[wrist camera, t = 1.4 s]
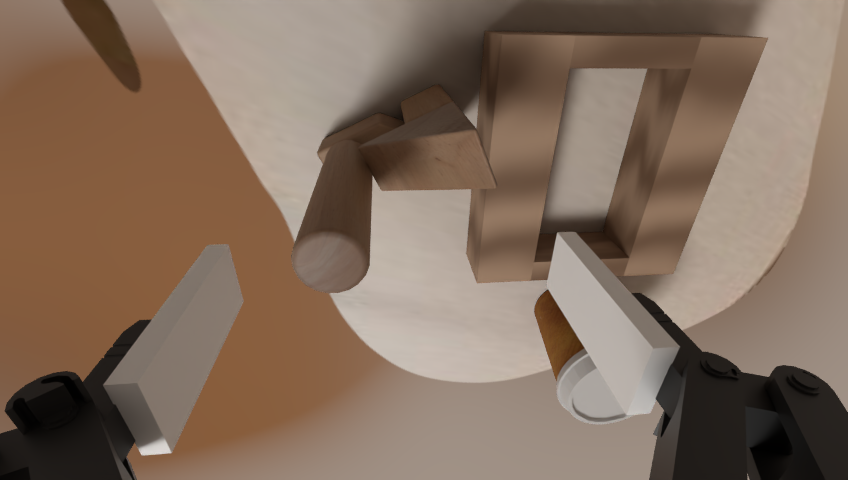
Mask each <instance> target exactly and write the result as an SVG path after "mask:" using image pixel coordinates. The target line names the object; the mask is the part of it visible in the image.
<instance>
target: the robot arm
mask: <svg viewBox="0 0 848 480" xmlns="http://www.w3.org/2000/svg"><path fill="white" fill-rule="evenodd" d="M546 287H547V288H548V290H549V291H550V293H551V295H552V296H553V298H554V300H555V301H556V303H557V304H558V306H559V308H560V309H561V311H562V312H563V314H564V316H565V317H566V319H567V320H568V322H569V324H570V325H571V327H572V328H573V330H574V332H575V333H576V335H577V337H578V338H579V340H580V341H581V343H582V345H583V346H584V348H585V349H586V351H587V353H588V354H589V356H590V357H591V359H592V361H593V362H594V364H595V366H596V367H597V369H598V370H599V372H600V374H601V375H602V377H603V378H604V380H605V382H606V383H607V385H608V386H609V388H610V390H611V391H612V393H613V394H614V396H615V398H616V399H617V401H618V403H619V404H620V406H621V407H622V409H623V411H624V412H625V414H626V415H635V414H647V413H650V412H651V410H652V408H653V406H654V403H655V401H656V400H657V401H658V402H659V404H660V405H661V407H662V408H663V409H664V412H663V414H662V416H661V418H660V421H659V423H658V425H657V427H656V429H655V431H654V433H653V434H654V435H656V436H657V440H656V446H655V451H654V457H653V462H652V467H651V473H650V478H649V480H747V473H748V476H749V479H750V480H848V412H847V411H846V409H845V407H844V406H843V404H842V403H841V401H840V400H839V398H838V396H837V395H836V393H835V392H834V391H833V389H831V387H830V386H829V385H828V384H827V383H826V382H824V381H823V380H822V379H820V378H819V377H817V376H816V375H814V374H812V373H810V372H808V371H806V370H803V369H800V368H797V367H794V366H786V365H782V366H777V367H776V368H775V369H774V370H773V371H772V373H771V375H770V376H769V377H765V376H760V375H754V374H749V373H743V372H741V371H740V370H739V369H738V367H737V366H736V365H734V364H733V363H731V362H730V361H728V360H727V359H725V358H723V357H721V356H719V355H716V354H713V353H709V352H702V351H701V350H700V349H699V348H698V347H697V346H696V345H695V343H693V341H692V340H690V338H689V337H688V336H687V335H686V334H685V333H684V332H683V331H682V330H681V329H680V328H679V327H678V326H677V325H676V324H675V323H673V322H672V320H671V319H670V318H669V317H668V316H667V314H664V311H663V310H662V309H661V308H660V307H659V306H658V305H657V304H656V303H655V302H654V301H652V300H651V299H649V298H647V297H646V296H644V295H642V294H641V293H630V291H629V290H628V289H627V288H626V287H625V286H624V285H623V284H622V283H621V282H620V281H619V279H618V278H617V277H616V276H615V275H614V274H613V273H612V272H611V271H610V270H609V268H608V267H607V266H606V265H605V264H604V263H603V262H602V261H601V260H600V259H599V257H598V256H597V255H596V254H595V253H594V252H593V251H592V250H591V249H590V248H589V247H588V245H587V244H586V243H585V242H584V241H583V240H582V239H581V238H580V237H579V236H578V234H577V233H576V232H557V236H556V241H555V246H554V251H553V256H552V261H551V266H550V270H549V275H548V280H547V285H546ZM242 303H243V298H242V294H241V290H240V286H239V282H238V279H237V276H236V271H235V267H234V264H233V260H232V256H231V252H230V248H229V245H228V244H225V245H224V244H223V245H207V247H206V248H205V249H204V250H203V252H202V253H201V255H200V256H199V257H198V259H197V260H196V261H195V263H194V264H193V265H192V267H191V268H190V269H189V271H188V272H187V274H186V275H185V276H184V277H183V279H182V280H181V281H180V283H179V284H178V285H177V287H176V288H175V289H174V291H173V292H172V293H171V295H170V296H169V297H168V299H167V300H166V302H165V303H164V304H163V305H162V307H161V308H160V310H159V311H158V312H157V314H156V315H155V316H154V317H153V319H152V320H139V321H138V322H136V323H135V324H134V325H132V326H131V327H129V328H128V329H127V330H125V331H124V332H123V333H122V334H121V335H120V337H119V338H118V339H117V340H116V342H115V343H114V344H113V347H111V348H110V349H109V350H108V351H107V353H106V354H105V356H104V358H102V359H101V360H100V361H99V363H98V364H97V365H96V366H95V368H94V369H93V370H92V372H91V373H90V374H89V375H88V376H87V377H86V379H85V380H84V381H83V382H82V381H81V379H80V377H79V376H78V375H77V374H76V373H73V372H68V371H65V372H57V373H52V374H49V375H46V376H43V377H40V378H38V379H36V380H34V381H33V382H31V383H29V384H27V385H25V386H24V387H23V388H21V389H20V390H19V391H17V392H16V393H15V394H14V395H13V396H12V397H11V399H10V400H9V401H8V402H7V405H6V409H5V412H6V414H7V415H8V416H9V417H10V419H11V420H12V421H13V423H14V424H15V425H16V427H17V429H14V430H11V431H7V432H4V433H1V434H0V480H137V479H136V476H135V474H134V471H133V469H132V466H131V464H130V462H129V460H128V458H127V457H126V456H127V455H128V453H129V451H130V449H131V448H132V446H133V444H134V442H135V444H136V446H137V447H138V449H139V451H140V453H141V455H152V454H164V453H172V451H173V449H174V447H175V445H176V443H177V441H178V438H179V437H180V434H181V432H182V430H183V428H184V426H185V424H186V422H187V420H188V417H189V415H190V413H191V411H192V409H193V407H194V405H195V403H196V401H197V398H198V396H199V394H200V392H201V390H202V388H203V386H204V384H205V381H206V379H207V377H208V375H209V373H210V371H211V369H212V367H213V365H214V363H215V360H216V358H217V356H218V354H219V352H220V350H221V348H222V346H223V343H224V341H225V339H226V337H227V335H228V333H229V331H230V329H231V327H232V324H233V322H234V320H235V318H236V316H237V314H238V312H239V310H240V308H241V305H242Z"/></svg>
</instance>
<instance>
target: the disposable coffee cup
mask: <svg viewBox="0 0 848 480" xmlns="http://www.w3.org/2000/svg"><path fill="white" fill-rule="evenodd" d="M534 312H535V317H536V319H537V322H538V325H539V329H540V332H541V335H542V338H543V341H544V344H545V347H546V351H547V354H548V357H549V360H550V363H551V366H552V369H553V372H554V376H555V378H556V381H557V384H556V385H557V397H558V399H559V402H560V404H561V405H562V406H563V407H564V408H565V409H566V410H568V411H570V413H571V414H572V415H573V416H574V417H575V418H577V419H578V420H580V421H582V422H585V423H590V424H608V423H614V422H617V421H621V420H624V419H627V418H629V417H632V416H634V415H626V414H625V412H624V411H623V409H622V407H621V406H620V404H619V403H618V401H617V399H616V398H615V396H614V394H613V393H612V391H611V390H610V388H609V386H608V385H607V383H606V382H605V380H604V378H603V377H602V375H601V374H600V372H599V370H598V369H597V367H596V366H595V364H594V362H593V361H592V359H591V357H590V356H589V354H588V353H587V351H586V349H585V348H584V346H583V345H582V343H581V341H580V340H579V338H578V337H577V335H576V333H575V332H574V330H573V328H572V327H571V325H570V324H569V322H568V320H567V319H566V317H565V316H564V314H563V312H562V311H561V309H560V308H559V306H558V304H557V303H556V301H555V300H554V298H553V296H552V295H551V293H550V291H549V290H547V291H546V292H545V293H543V294H542V295H541V297H540V298H539V299H538V301H537V303H536V305H535V311H534ZM635 415H636V414H635Z"/></svg>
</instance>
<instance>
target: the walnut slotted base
mask: <svg viewBox="0 0 848 480" xmlns="http://www.w3.org/2000/svg"><path fill="white" fill-rule="evenodd" d="M767 40H768V38H763V37H749V36H735V35H721V34H670V33H592V32H514V31H485V32H484V44H483V56H482V68H481V81H480V93H479V105H478V118H477V131H478V133H479V136H480V139H481V141H482V144H483V147H484V150H485V152H486V155H487V158H488V160H489V163H490V166H491V169H492V171H493V174H494V177H495V179H496V182H497V188H495V189H472V191H471V204H470V216H469V228H468V241H467V253H466V254H467V257H468V260H469V262H470V265H471V268H472V271H473V273H474V276H475V279H476V282H477V283H490V282H511V281H532V280H548V275H549V270H550V266H551V261H552V256H553V251H554V246H555V241H556V236H557V233H555V234H539V232H540V227H541V221H542V216H543V210H544V205H545V199H546V194H547V189H548V183H549V178H550V172H551V167H552V162H553V156H554V151H555V145H556V140H557V134H558V129H559V124H560V118H561V113H562V107H563V102H564V97H565V91H566V86H567V80H568V75H569V70H570V68H648V69H647V73H646V76H645V80H644V84H643V87H642V91H641V95H640V98H639V102H638V105H637V109H636V113H635V116H634V120H633V124H632V127H631V131H630V134H629V138H628V142H627V145H626V149H625V153H624V156H623V160H622V163H621V167H620V171H619V174H618V178H617V181H616V185H615V189H614V192H613V196H612V200H611V203H610V207H609V210H608V214H607V218H606V221H605V225H604V229H603V232H582V233H577V234H578V236H579V237H580V238H581V239H582V240H583V241H584V242H585V243H586V244H587V245H588V247H589V248H590V249H591V250H592V251H593V252H594V253H595V254H596V255H597V256H598V257H599V259H600V260H601V261H602V262H603V263H604V264H605V265H606V266H607V267H608V268H609V270H610V271H611V272H612V273H613V274H614V275H615V276H636V275H657V274H673V273H674V271H675V268H676V266H677V263H678V261H679V258H680V256H681V253H682V251H683V248H684V246H685V243H686V241H687V238H688V236H689V233H690V231H691V228H692V226H693V224H694V221H695V219H696V216H697V214H698V211H699V209H700V206H701V204H702V201H703V199H704V196H705V194H706V191H707V189H708V186H709V184H710V181H711V179H712V176H713V174H714V171H715V169H716V166H717V164H718V161H719V159H720V157H721V154H722V152H723V149H724V147H725V144H726V142H727V139H728V137H729V134H730V132H731V129H732V127H733V124H734V122H735V119H736V117H737V114H738V112H739V109H740V107H741V104H742V102H743V99H744V97H745V94H746V92H747V90H748V87H749V85H750V82H751V80H752V77H753V75H754V72H755V70H756V67H757V65H758V62H759V60H760V57H761V55H762V52H763V50H764V47H765V45H766V42H767Z"/></svg>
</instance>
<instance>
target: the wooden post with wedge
mask: <svg viewBox="0 0 848 480" xmlns="http://www.w3.org/2000/svg"><path fill="white" fill-rule="evenodd" d="M401 110H402V114H403V118H404V121H401V120H399V119H396V118H393V117H390V116H388V115H385V114H382V113H377V114H374V115H372V116H370V117H368V118H366V119H364V120H362V121H360V122H358V123H356V124H354V125H352V126H350V127H348V128H346V129H343V130H341V131H339V132H337V133H335V134H333V135H331V136H329V137H327V138H325V139H323V141H322V142H321V145H320V147H319V149H318V152H317V153H318V156H319V158H320V160H321V161H322V163H323V166H322V168H321V171H320V174H319V177H318V180H317V182H316V185H315V188H314V191H313V194H312V196H311V199H310V202H309V205H308V208H307V210H306V213H305V216H304V219H303V222H302V224H301V227H300V230H299V233H298V236H297V238H296V241H295V244H294V247H293V251H292V255H291V259H292V266H293V268H294V270H295V272H296V274H297V276H298V278H299V279H300V280H301V281H302V282H303V283H304V284H306V285H307V286H309V287H311V288H313V289H314V290H316V291H321V292H325V293H339V292H343V291H346V290H349V289H351V288H353V287H354V286H356V285H357V284H358V283H359V282H360V281H361V280H362V279H363V278H364V277H365V275H366V273H367V271H368V268H369V265H370V235H371V205H372V176H374V178H375V180H376V182H377V184H378V186H379V187H380V189H381V190H382V191H397V190H449V189H495V188H497V182H496V179H495V177H494V174H493V171H492V169H491V166H490V163H489V160H488V158H487V155H486V152H485V150H484V147H483V144H482V141H481V139H480V136H479V133H478V131H477V129H476V128H475V127H474V126H473V124H472V123H471V122H470V121H469V120H468V118H467V117H466V116H465V115H464V114H463V112H462V111H461V110H460V109H459V108H458V106H457V105H456V104H455V103H454V102H453V100H452V99H451V98H450V97H449V96H448V94H447V93H446V92H445V91H444V90H443V88H442V87H441V86H440V85H434V86H432V87H430V88H428V89H426V90H424V91H422V92H420V93H418V94H415V95H413V96H411V97H409V98H407V99H405V100H403V101H402V102H401Z"/></svg>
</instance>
